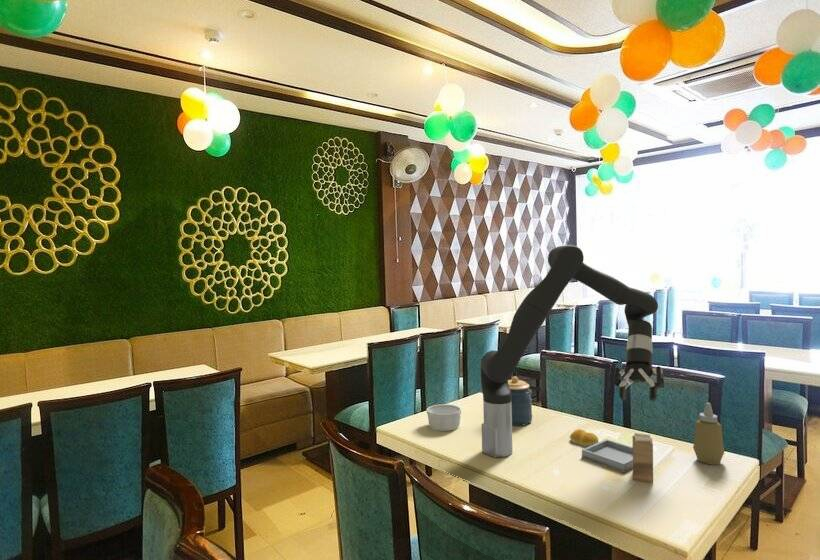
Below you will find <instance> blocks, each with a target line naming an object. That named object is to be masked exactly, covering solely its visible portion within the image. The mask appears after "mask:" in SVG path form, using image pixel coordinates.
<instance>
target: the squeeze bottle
mask: <svg viewBox="0 0 820 560" xmlns="http://www.w3.org/2000/svg"><path fill="white" fill-rule="evenodd" d="M722 431H723V430H722V425H721V423H719V422H718V415H716V414H714V412H713V407H712V404H711V402H705V406H704V410H703V412H700V413H699V419H698V420H696V422H695V429H694V439H693V447H692V449H693V451H694V453H695V456H696V459H697V460H698V461H699V462H701V463H703V464H708V465H719V464H721V461H722V459H723V457H724V454H725V447H724V441H723V432H722Z"/></svg>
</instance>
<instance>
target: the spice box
mask: <svg viewBox="0 0 820 560" xmlns="http://www.w3.org/2000/svg"><path fill="white" fill-rule="evenodd" d="M632 447H633V468H632V477H633V478H632V479H633V481H638V482H646V483H654V445H653V438H652V437H651V435H650V434H647V433H636V432H634V433H633V435H632Z"/></svg>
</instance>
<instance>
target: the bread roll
mask: <svg viewBox="0 0 820 560" xmlns="http://www.w3.org/2000/svg"><path fill="white" fill-rule="evenodd" d="M569 439H570V440H571V442H572V443H574V444H576V445H580V446H582V447H589V446H592V445H594V444H596V443H599V437H598V436H597V435H596V434H595V433H592V432H587V431H586V430H584V429H576V430H574V431H573V432H572V433H571V434H570V435H569Z"/></svg>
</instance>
